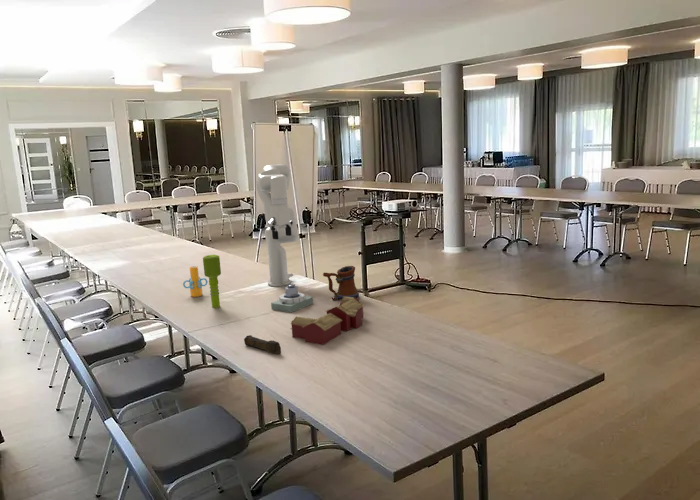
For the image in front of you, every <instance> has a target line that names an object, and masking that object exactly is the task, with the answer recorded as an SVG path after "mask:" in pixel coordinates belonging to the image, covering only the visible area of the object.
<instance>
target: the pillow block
mask: <svg viewBox="0 0 700 500" xmlns="http://www.w3.org/2000/svg"><path fill="white" fill-rule="evenodd" d="M270 304H271V310H272V311H273V310H274V311H280V312H286V313H294V312H296V311H298V310H300V309H303V308H306V307H308V306H310V305H313V304H314V297H313V296H307V295H305V293H302V292H298V297H296V298H286V297H285V293H283V294H280V295H279V296H278V300H275V301H272V302H271V303H270Z"/></svg>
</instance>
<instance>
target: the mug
mask: <svg viewBox="0 0 700 500" xmlns="http://www.w3.org/2000/svg"><path fill="white" fill-rule="evenodd" d="M355 271H356V266H354V265H345V266H342V267H341V268H340V269H338V270H337V272H336V273H335V272H325V271H324V272H323V273H322V276H323V277H326V278H327V280H328V290H329V291H330V292H331V293H332V294H333V295H334V296H333V297H331V300H332V301H337V300H339V301H340V300H342V298H343V297H353V298H354V297H355V298H358V299H359V296H360V293H359V292H358V289H357V287H356V284H355ZM331 277H335V281H336V283H337V284H338V289H337V292H336V290H334V289H333V288H334V287H333V279H332V278H331Z"/></svg>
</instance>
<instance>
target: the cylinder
mask: <svg viewBox="0 0 700 500" xmlns="http://www.w3.org/2000/svg"><path fill="white" fill-rule="evenodd" d="M189 273H190V275H189V276H190V278H188V279H186V280H185V281H183V283H182V286H183V288H185V289H189V292H190V296H191V297H194V298H199V297H201V296H203V287H206V286H207V285H208V284H209V280H208V279H207V278H205V277H202V278H201V277H200V276H199V268H198V266H197V265H193V266H190V267H189ZM203 280H204V281H205V284H203V282H202V281H203ZM186 283H189V284H188V285H189V286H186Z"/></svg>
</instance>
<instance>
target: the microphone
mask: <svg viewBox="0 0 700 500" xmlns="http://www.w3.org/2000/svg"><path fill="white" fill-rule="evenodd" d="M220 259H221V258H220V255H218V254H207V255H205V256H203V257H202V262H203V272H204V273H203V274H204V277H206V278H208V279H209V280H208V284H209V292H210V293H209V295H210V299H211V301H210V302H211V308H214V309H217V308H219V307H220V308H221V305H220V304H221V303H220V302H221V301H220V290H219V280H218V277H219V276H221V274H222V272H221V271H222V270H221V260H220Z"/></svg>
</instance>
